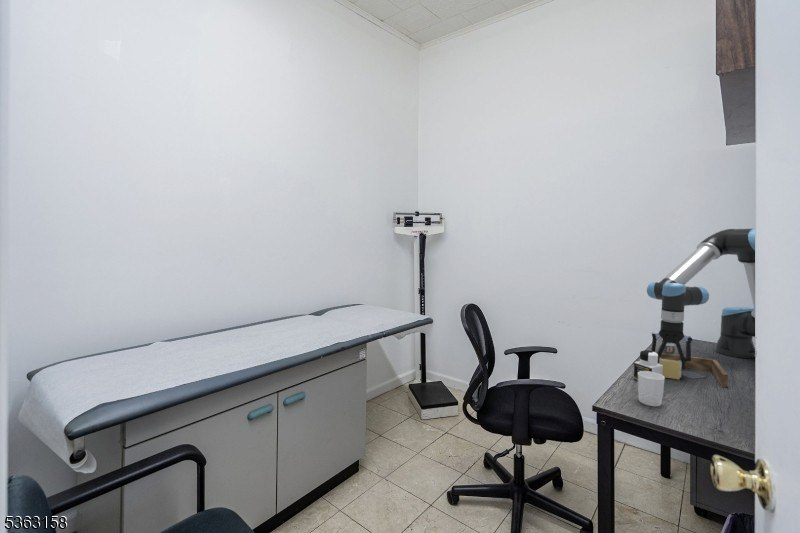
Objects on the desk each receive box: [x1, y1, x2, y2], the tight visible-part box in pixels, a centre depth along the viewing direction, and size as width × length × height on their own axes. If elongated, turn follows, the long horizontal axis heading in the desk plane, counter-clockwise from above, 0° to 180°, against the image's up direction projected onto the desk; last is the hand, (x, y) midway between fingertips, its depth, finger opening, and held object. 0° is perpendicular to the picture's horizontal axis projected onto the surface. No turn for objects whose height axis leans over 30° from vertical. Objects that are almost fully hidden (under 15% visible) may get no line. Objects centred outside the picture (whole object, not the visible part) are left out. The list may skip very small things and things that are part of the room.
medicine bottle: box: [633, 349, 663, 381], centre depth 148 cm, size 7×7×12 cm
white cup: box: [637, 371, 666, 407], centre depth 129 cm, size 8×8×10 cm
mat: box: [681, 370, 706, 380], centre depth 154 cm, size 10×10×1 cm
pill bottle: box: [659, 338, 676, 355], centre depth 174 cm, size 6×6×10 cm
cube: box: [661, 359, 680, 380], centre depth 152 cm, size 6×6×6 cm
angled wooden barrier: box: [655, 351, 729, 388], centre depth 155 cm, size 22×20×5 cm
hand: (669, 374), depth 153 cm, fingers closed on cube, 6 cm apart
